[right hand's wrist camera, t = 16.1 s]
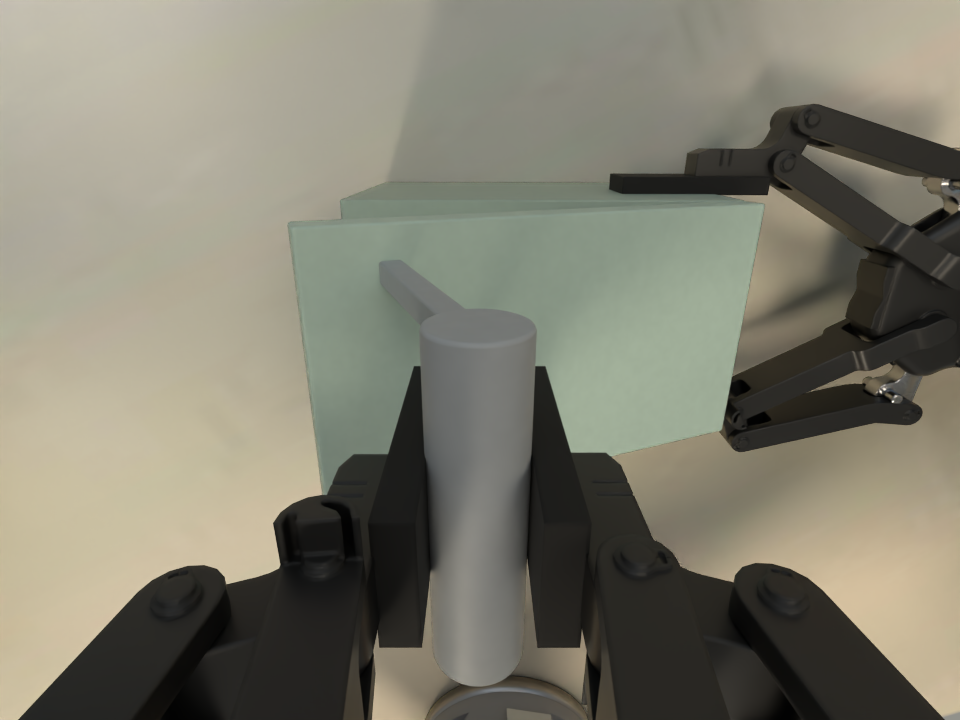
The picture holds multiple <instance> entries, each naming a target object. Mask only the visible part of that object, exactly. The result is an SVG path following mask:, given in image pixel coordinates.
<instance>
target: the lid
mask: <svg viewBox="0 0 960 720" xmlns="http://www.w3.org/2000/svg"><path fill="white" fill-rule="evenodd" d="M764 207H765V205H764V204H763V203H754V202H746V201H730V202H708V203H686V204H665V205H643V206H621V207H599V208H578V209H556V210H534V211H512V212H491V213H469V214H447V215H426V216H404V217H382V218H360V219H339V220H317V221H295V222H289V223H288V233H289V240H290V248H291V256H292V264H293V271H294V279H295V287H296V295H297V302H298V310H299V318H300V326H301V333H302V341H303V349H304V357H305V364H306V372H307V380H308V387H309V395H310V403H311V411H312V418H313V426H314V434H315V442H316V449H317V457H318V465H319V473H320V480H321V488H322V495H327V493H328V491H329V488H330V486H331V485H332V482H333V479H334V477H335V475H336V472H337V470H338V468H339V466H341V465H342V464H343V463H344V462H345V461H346V460H347V459H349V458H350V457H351V456H352V455H353V454H388V452H389V449H390V445H391V442H392V439H393V435H394V432H395V429H396V425H397V422H398V418H399V415H400V412H401V408H402V405H403V401H404V398H405V395H406V391H407V388H408V385H409V381H410V378H411V374H412V371H413V368H414V366H421V388H422V411H423V434H424V454H425V458H426V473H427V496H428V519H429V543H430V566H431V572H430V597H431V620H432V643H433V654H434V657H435V660H436V662H437V664H438V666H439V667H440V669H441V670H442V671H443V672H444V673H445V674H446V675H447V676H448V677H449V678H451V679H452V680H454V681H456V682H458V683H461V684H464V685H468V686H475V687H480V686H488V685H492V684H495V683H498V682H500V681H502V680H503V679H505V678H506V677H508V676H509V675H510V674H511V673H512V672H513V671H514V670H515V668H516V667H517V665H518V664H519V662H520V660H521V657H522V653H523V641H524V617H525V594H526V571H527V548H528V524H529V501H530V478H531V455H532V431H533V408H534V385H535V366H546V369H547V373H548V376H549V380H550V383H551V386H552V390H553V393H554V397H555V400H556V403H557V407H558V410H559V414H560V417H561V420H562V424H563V427H564V431H565V434H566V437H567V441H568V444H569V448H570V451H571V453H607V454H608V455H609V456H611V457H612V456H616V455H620V454H624V453H629V452H633V451H637V450H641V449H646V448H650V447H654V446H658V445H662V444H667V443H671V442H675V441H679V440H684V439H688V438H692V437H696V436H700V435H705V434H709V433H713V432H717V431H721V430H722V426H723V421H724V416H725V411H726V405H727V400H728V395H729V390H730V385H731V379H732V374H733V369H734V364H735V358H736V353H737V348H738V343H739V338H740V332H741V327H742V322H743V317H744V312H745V306H746V301H747V296H748V291H749V286H750V280H751V275H752V270H753V265H754V260H755V254H756V249H757V244H758V239H759V234H760V228H761V223H762V218H763V213H764Z"/></svg>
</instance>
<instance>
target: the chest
mask: <svg viewBox="0 0 960 720" xmlns="http://www.w3.org/2000/svg"><path fill="white" fill-rule="evenodd" d="M730 201H744V200H740V199H735V198H730V197H726V196H721V195H716V194H621V193H618V192H615V191H612V190H609V183H552V182H385V183H383V184H380V185H378V186H375V187H372V188H370V189H367V190H365V191H362V192H360V193H357V194H355V195H352V196H349V197H347V198H344V199H342V200H340V205H341V215H342V219H360V218H382V217H404V216H426V215H447V214H469V213H491V212H512V211H534V210H556V209H578V208H599V207H621V206H643V205H665V204H686V203H708V202H730Z"/></svg>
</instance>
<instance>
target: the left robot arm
mask: <svg viewBox="0 0 960 720" xmlns="http://www.w3.org/2000/svg"><path fill="white" fill-rule="evenodd" d="M770 128H771V129H770V131H769V133H768V135H767V137H766V138H765V140H764V141H763V142H762V143H761V144H760V145H758V146H757V147H754V148H751V149H696V150H694V151H691V152H689V153H687V158H686V165H685V173H684V174H610V183H609V190H612V191H615V192H618V193H621V194H716V195H768V190H769V185H771V186H772V187H774V188H775V189H777V190H778V191H780V192H781V193H783V194H784V195H786V196H787V197H789V198H790V199H792V200H793V201H795V202H796V203H798V204H799V205H801V206H802V207H804V208H805V209H807V210H808V211H810V212H811V213H813V214H814V215H816V216H817V217H819V218H820V219H822V220H823V221H825V222H826V223H828V224H829V225H831V226H833V227H834V228H836V229H837V230H839V231H840V232H842V233H843V234H845V235H846V236H847V237H848V239H849V240H850V241H851V242H853V243H854V244H856V245H857V246H859V247H860V248H862V249H864V250H865V251H867V252H868V253H870V254H869V256H868V257H867V259H861V260H860V264H859V268H858V271H857V289H856V291H855V293H854V295H853V297H852V299H851V301H850V302H849V305H848V309H847V313H846V316H845V317H846V318H847V319H845V320H843V321H840V322H838V323H836V324H834V325H832V326H830V327H828V328H826V329H825V330H824V331H823V335H822V336H820V337H818V338H815V339H813V340H811V341H809V342H807V343H805V344H802V345H800V346H798V347H796V348H794V349H791V350H789V351H787V352H785V353H783V354H781V355H778V356H776V357H774V358H772V359H770V360H768V361H765V362H763V363H761V364H759V365H757V366H754V367H752V368H750V369H748V370H746V371H744V372H741V373H739V374H737V375H735V376H733V377H732V379H731V385H730V390H729V395H728V400H727V405H726V411H725V416H724V421H723V426H722V430H721V431H719V432H720V433H721V435H722V436H723V437H724V438H725V439H726V441H727V442H728V443H729V444H730V446H731V447H732V448H733V449H734V450H735V451H738V452H745V451H749V450H754V449H759V448H763V447H768V446H772V445H777V444H781V443H786V442H790V441H795V440H799V439H804V438H808V437H813V436H817V435H822V434H827V433H831V432H836V431H840V430H845V429H849V428H854V427H858V426H863V425H867V424H872V423H885V424H898V425H911V424H914V423H916V422H917V421H918V420H919V419H920V418H921V416H922V413H923V412H922V408H921V407H919V406H918V405H916V404H915V403H913V402H912V400H913V398H914V395H915V393H916V390H917V388H918V386H919V383H920V381H921V379H922V376H926V375H931V374H933V373H936V372H938V371H940V370H943V369H946V368H951V367H960V148H950V147H947V146H944V145H941V144H937V143H934V142H931V141H928V140H925V139H922V138H919V137H916V136H913V135H910V134H907V133H904V132H901V131H898V130H895V129H892V128H889V127H886V126H883V125H880V124H877V123H874V122H871V121H868V120H865V119H861V118H858V117H855V116H852V115H849V114H846V113H843V112H840V111H837V110H834V109H831V108H828V107H825V106H822V105H819V104H810V105H801V106H793V107H785V108H781V109H779V110H778V111H776V112H775V113H774V114H773V116H772V118H771V121H770ZM806 145H810V146H813V147H816V148H819V149H822V150H825V151H829V152H832V153H835V154H838V155H841V156H844V157H847V158H850V159H854V160H857V161H860V162H863V163H866V164H869V165H872V166H875V167H879V168H882V169H885V170H888V171H891V172H894V173H897V174H902V175H906V176H915V177H924V178H923V179H922V185H923V186H925V187H927V190H928V192H929V193H931V194H935V195H939V196H940V197H941V198H942V199H943V202H944V207H943V208H940V209H938V210H936V211H934V212H933V213H931V214H929V215H928V216H926V217H924V218H923V219H921V220H919V221H918V222H916V223H914V224H913V225H911V226H909V225H906V224H904V223H901V222H899V221H898V220H896V219H895V218H893V217H892V216H890V215H889V214H887V213H886V212H884V211H883V210H882V209H880V208H879V207H877V206H876V205H874V204H873V203H871V202H870V201H868V200H867V199H865V198H864V197H863V196H861V195H860V194H858V193H857V192H855V191H854V190H852V189H851V188H849V187H848V186H846V185H845V184H844V183H842V182H841V181H839V180H838V179H836V178H835V177H833V176H832V175H830V174H829V173H827V172H826V171H825V170H823V169H822V168H820V167H819V166H817V165H816V164H814V163H813V162H811V161H810V160H808V159H807V158H806V157H804V156H803V155H801V154H802V152H803V150H804V148H805V146H806ZM861 339H862V340H861ZM863 340H864V341H863ZM888 363H891V364H892V365H893V367H892V369H891V371H890V372H889V373H887V374H886V375H883V376H879V377H875V378H872V377H866V378H864V379H863V381H862V384H846V385H841V386H836V387H831V388H827V389H822V390H818V391H814V392H809V391H811V390H813V389H816V388H818V387H820V386H822V385H825V384H827V383H829V382H832V381H834V380H836V379H838V378H841V377H843V376H845V375H847V374H850V373H852V372H854V371H858V370H862V371H869V370H873V369H876V368H879V367H881V366H883V365H885V364H888ZM807 392H809V393H807ZM804 393H805V394H804ZM425 720H588V717H587V714H586V712H585V711H584V709H583V708H582V706H581V705H580V704H579V703H578V702H577V701H576V700H575V699H574V698H573V697H572V696H571V695H569V694H568V693H566V692H565V691H563V690H562V689H560V688H558V687H556V686H554V685H551V684H549V683H546V682H543V681H540V680H536V679H532V678H526V677H518V676H508V677H506V678H505V679H503V680H502V681H500V682H498V683H495V684H492V685H488V686H480V687H475V686H468V685H464V684H463V685H461V686H459V687H457V688H455V689H453V690H451V691H450V692H448V693H447V694H445V695H444V696H443V697H441V698H440V699H439V700H438V701H437V702H436V703H435V704H434V705H433V707H432V708H431V709H430V711H429V713H428V715H427V717H426V719H425Z"/></svg>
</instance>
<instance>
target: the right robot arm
mask: <svg viewBox="0 0 960 720" xmlns="http://www.w3.org/2000/svg"><path fill="white" fill-rule="evenodd" d="M273 524H274V530H275V536H276V541H277V547H278V553H279V558H280V564H281V565H280V568H279V569H277V570H275V571H273V572H271V573H269V574H265V575H262V576H259V577H256V578H252V579H247V580H243V581H239V582H235V583H231V584H227V585H226V582H225V577H224V576H223V575H222V574H221V573H220V572H219V571H218V570H217V569H215V568H212V567H208V566H205V565H200V566H186V567H183V568H179V569H176V570H172V571H169V572H167V573H165V574H164V575H162V576H160V577H158V578H156V579H154V580H152V581H151V582H150V583H148V584H147V585H146V586H145V587H144V588H142V589H141V590H140V591H139V592H138V593H137V594H136V595H135V596H134V597H133V598H132V599H131V600H130V601H129V602H128V603H127V604H126V605H125V606H124V608H123V609H122V610H121V611H120V612H119V613H118V614H117V615H116V616H115V617H114V618H113V619H112V620H111V621H110V622H109V624H108V625H107V626H106V627H105V628H104V629H103V630H102V631H101V632H100V633H99V634H98V635H97V636H96V637H95V638H94V640H93V641H92V642H91V643H90V644H89V645H88V646H87V647H86V648H85V649H84V650H83V651H82V652H81V653H80V654H79V656H78V657H77V658H76V659H75V660H74V661H73V662H72V663H71V664H70V665H69V666H68V667H67V668H66V669H65V670H64V671H63V673H62V674H61V675H60V676H59V677H58V678H57V679H56V680H55V681H54V682H53V683H52V684H51V685H50V686H49V687H48V689H47V690H46V691H45V692H44V693H43V694H42V695H41V696H40V697H39V698H38V699H37V700H36V701H35V702H34V703H33V705H32V706H31V707H30V708H29V709H28V710H27V711H26V712H25V713H24V714H23V715H22V716H21V717H20V718H19V719H18V720H372V710H373V697H374V685H375V664H374V654H373V649H374V644H375V640H376V635H377V630H378V638H379V648H422V642H423V633H424V624H425V616H426V607H427V598H428V589H429V581H430V572H431V566H430V543H429V519H428V496H427V473H426V458H425V454H424V434H423V411H422V388H421V366H414V368H413V371H412V374H411V378H410V381H409V385H408V388H407V391H406V395H405V398H404V401H403V405H402V408H401V412H400V415H399V418H398V422H397V425H396V429H395V432H394V435H393V439H392V442H391V445H390V449H389V452H388V454H353V455H352V456H351V457H350V458H349V459H347V460H346V461H345V462H344V463H343V464H342V465H341V466H339V468H338V470H337V472H336V475H335V477H334V479H333V482H332V485H331V486H330V488H329V491H328V493H327V495H320V496H314V497H308V498H305V499H303V500H301V501H298V502H296V503H293V504H292V505H290V506H289V507H287V508H286V509H285V510H283V511H282V512H281V513H280V514H279V515H278V517H277V518H276V520H275V521H274V523H273ZM527 559H528V568H529V577H530V586H531V594H532V603H533V612H534V621H535V629H536V638H537V647H538V648H580V642H581V632H582V630H583V635H584V640H585V645H586V649H587V654H586V664H585V674H584V684H583V693H582V703H581V704H584V705H587V709H588V720H944V719H943V717H942V716H941V715H940V714H939V713H938V712H937V711H936V710H935V709H934V708H933V707H932V706H931V705H930V704H929V703H928V702H927V701H926V699H925V698H924V697H923V696H922V695H921V694H920V693H919V692H918V691H917V690H916V689H915V688H914V687H913V686H912V685H911V684H910V683H909V681H908V680H907V679H906V678H905V677H904V676H903V675H902V674H901V673H900V672H899V671H898V670H897V669H896V668H895V667H894V666H893V665H892V663H891V662H890V661H889V660H888V659H887V658H886V657H885V656H884V655H883V654H882V653H881V652H880V651H879V650H878V649H877V648H876V647H875V645H874V644H873V643H872V642H871V641H870V640H869V639H868V638H867V637H866V636H865V635H864V634H863V633H862V632H861V631H860V630H859V628H858V627H857V626H856V625H855V624H854V623H853V622H852V621H851V620H850V619H849V618H848V617H847V616H846V615H845V614H844V613H843V612H842V610H841V609H840V608H839V607H838V606H837V605H836V604H835V603H834V602H833V601H832V600H831V599H830V598H829V597H828V596H827V595H826V594H825V592H824V591H823V590H822V589H820V588H819V587H818V586H817V585H815V584H814V583H813V582H812V581H811V580H809V579H808V578H807V577H805V576H803V575H801V574H799V573H797V572H795V571H793V570H791V569H788V568H785V567H781V566H778V565H774V564H764V563H754V564H751V565H747V566H744V567H742V568H741V569H740V570H739V571H738V573H737V574H736V575H735V579H734V582H729V581H725V580H721V579H717V578H712V577H708V576H704V575H701V574H697V573H694V572H691V571H689V570H687V569H684V568H682V567H680V564H679V563H678V561H677V559H676V558H675V556H674V554H673V553H672V552H671V551H670V550H668V549H667V548H666V547H665V546H664V545H662V544H661V543H659V542H657V541H655V540H653V538H652V536H651V533H650V531H649V529H648V526H647V524H646V522H645V520H644V517H643V515H642V513H641V510H640V508H639V506H638V504H637V501H636V499H635V497H634V496H633V492H632V490H631V488H630V485H629V483H627V478H626V476H625V474H624V472H623V469H622V467H621V465H620V464H619V463H617V462H616V461H615V460H614V459H613V458H612V457H611V456H609V455H608V454H607V453H571V451H570V448H569V444H568V441H567V437H566V434H565V431H564V427H563V424H562V420H561V417H560V414H559V410H558V407H557V403H556V400H555V397H554V393H553V390H552V386H551V383H550V380H549V376H548V373H547V369H546V366H535V385H534V408H533V431H532V455H531V478H530V501H529V524H528V548H527Z"/></svg>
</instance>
